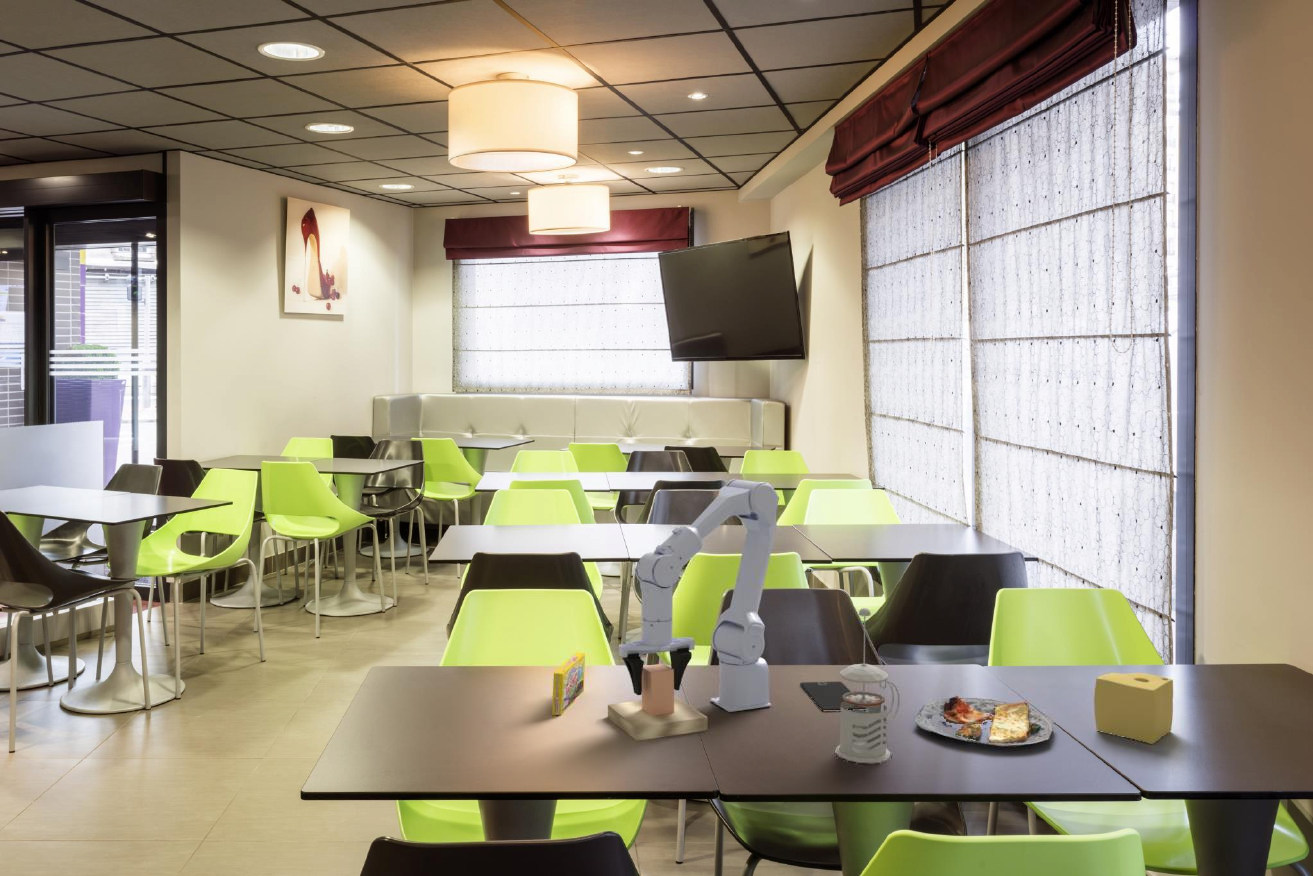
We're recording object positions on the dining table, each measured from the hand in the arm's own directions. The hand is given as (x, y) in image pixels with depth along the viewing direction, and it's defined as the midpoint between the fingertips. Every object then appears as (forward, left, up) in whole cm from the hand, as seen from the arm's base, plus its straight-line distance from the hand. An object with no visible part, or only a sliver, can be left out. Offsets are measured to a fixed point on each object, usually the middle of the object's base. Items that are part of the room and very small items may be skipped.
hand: (656, 691), depth 188 cm
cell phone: (-39, -1, -7) cm, 40 cm away
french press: (-27, +28, -6) cm, 39 cm away
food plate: (-54, +26, -6) cm, 60 cm away
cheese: (-78, +38, -6) cm, 87 cm away
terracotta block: (0, 0, -4) cm, 4 cm away
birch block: (0, 0, -7) cm, 7 cm away
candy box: (+11, -18, -6) cm, 22 cm away
